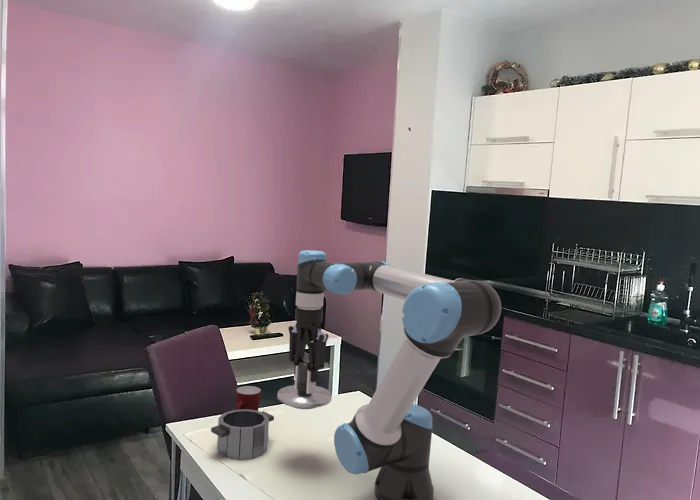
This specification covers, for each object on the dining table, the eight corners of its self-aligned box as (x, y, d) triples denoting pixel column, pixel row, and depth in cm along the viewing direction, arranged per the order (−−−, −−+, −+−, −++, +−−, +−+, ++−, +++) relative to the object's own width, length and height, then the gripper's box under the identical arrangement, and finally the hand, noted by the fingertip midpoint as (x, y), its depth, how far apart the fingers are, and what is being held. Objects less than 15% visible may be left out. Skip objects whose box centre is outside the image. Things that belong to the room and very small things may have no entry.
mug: (250, 429, 180) (251, 398, 179) (226, 425, 182) (228, 394, 181) (263, 417, 190) (265, 388, 189) (241, 413, 192) (242, 384, 191)
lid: (342, 404, 159) (344, 363, 158) (303, 418, 148) (305, 374, 147) (304, 390, 169) (306, 351, 168) (265, 401, 158) (267, 360, 157)
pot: (282, 447, 169) (284, 418, 168) (230, 467, 155) (232, 435, 154) (252, 432, 178) (253, 404, 177) (200, 449, 164) (202, 419, 163)
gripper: (341, 311, 153) (336, 395, 156) (297, 300, 165) (293, 379, 167) (322, 314, 148) (317, 402, 150) (278, 303, 159) (274, 385, 161)
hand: (304, 390), depth 158 cm, fingers closed on lid, 4 cm apart
